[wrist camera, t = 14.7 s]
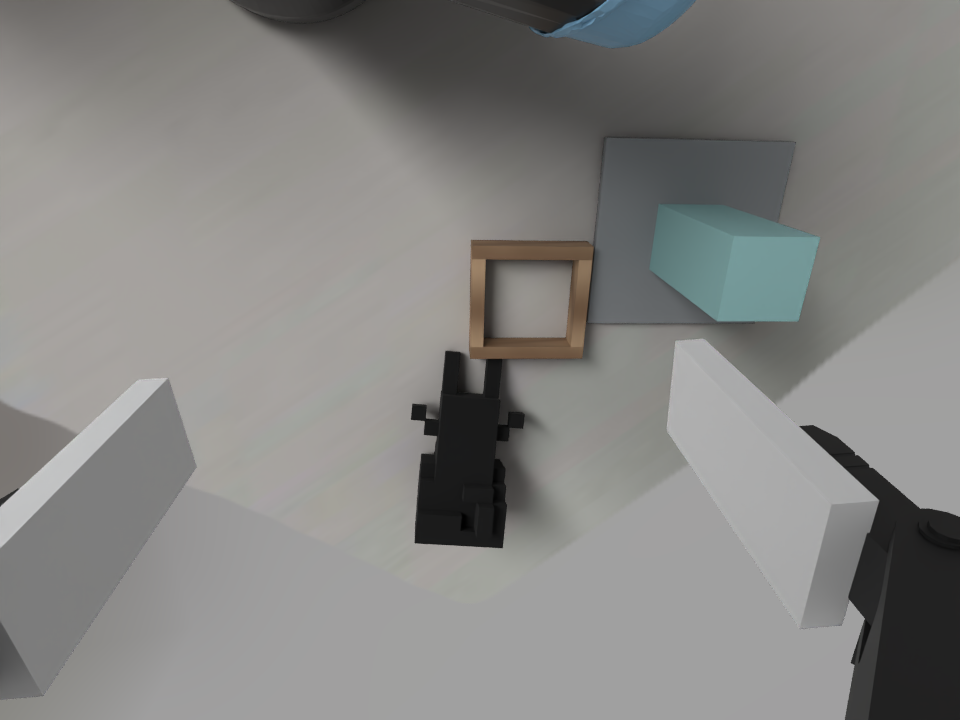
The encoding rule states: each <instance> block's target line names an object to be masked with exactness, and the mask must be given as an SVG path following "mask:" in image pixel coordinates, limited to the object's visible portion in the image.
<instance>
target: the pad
mask: <svg viewBox="0 0 960 720" xmlns="http://www.w3.org/2000/svg"><path fill="white" fill-rule="evenodd" d="M795 144H796V142H782V141H739V140H696V139H653V138H610V137H605V138H604V148H603V157H602V167H601V177H600V186H599V196H598V206H597V215H596V225H595V235H594V244H593V247H594V249H593V259H592V269H591V278H590V288H589V297H588V307H587V317H586V322H587V323H755V321H716V320H715V319H713V318H712V317H711V316H709V315H708V314H707V313H705V312H704V311H703V310H702V309H700V308H699V307H698V306H696V305H695V304H694V303H692V302H691V301H690V300H689V299H687V298H686V297H685V296H683V295H682V294H681V293H679V292H678V291H677V290H675V289H674V288H673V287H672V286H670V285H669V284H668V283H666V282H665V281H664V280H662V279H661V278H660V277H658V276H657V275H656V274H655V273H653V272H652V271H651V270H649V267H650V261H651V254H652V247H653V240H654V233H655V226H656V219H657V212H658V205H659V204H696V205H725V206H728V207H731V208H734V209H737V210H740V211H743V212H746V213H749V214H752V215H755V216H758V217H761V218H764V219H767V220H770V221H773V222H776V223H778V218H779V214H780V210H781V205H782V201H783V197H784V192H785V188H786V183H787V179H788V175H789V170H790V166H791V162H792V157H793V153H794V149H795Z"/></svg>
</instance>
